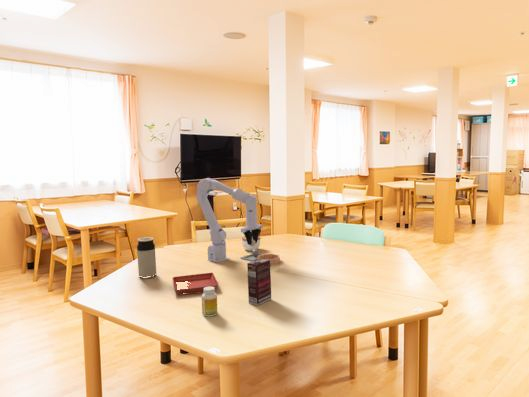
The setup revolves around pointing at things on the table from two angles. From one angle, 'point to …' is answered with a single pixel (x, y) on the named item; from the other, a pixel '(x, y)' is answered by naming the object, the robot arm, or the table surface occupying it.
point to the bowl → (270, 258)
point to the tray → (250, 257)
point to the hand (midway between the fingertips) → (252, 243)
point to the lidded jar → (247, 246)
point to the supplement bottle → (209, 301)
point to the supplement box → (259, 281)
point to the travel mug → (146, 257)
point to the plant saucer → (195, 282)
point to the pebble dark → (255, 253)
